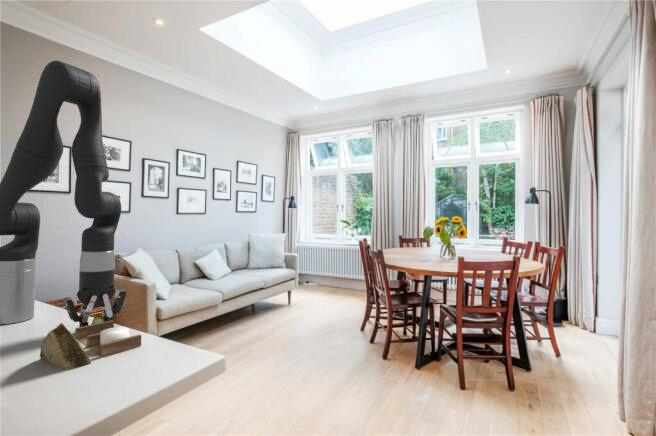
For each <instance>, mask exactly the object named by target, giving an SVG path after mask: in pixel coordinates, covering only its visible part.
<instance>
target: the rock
mask: <svg viewBox="0 0 656 436" xmlns="http://www.w3.org/2000/svg"><path fill="white" fill-rule="evenodd" d="M81 344H82V343H81V342H79V341H78V340H77V339H76V338H75V336H74V335H73V334H72V332H71V331H70V330H69V329H68V328H67V327H66V325H65V324H64V323H63V322H60V323H59V324H58V325H57V326H56V327H54V328H53V329H52V330H50V331H49V332H48V333H47V335H46V336H44V338H43V340H42V343H41V346H40V350H39V351H40V352H39V357H40V358H39V359H40V360H41V361H44V362H47V363H50V364H53V365H55V366H58V367H60V368H62V369H64V370H71V369H77V368H81V367H84V366H88V365H91V364H92V363H91V362H92V361H91V358H90V357H89V356H88V354H87V353H86V351H85V349H84V348H83V344H82V345H81Z"/></svg>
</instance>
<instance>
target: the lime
mask: <svg viewBox="0 0 656 436" xmlns="http://www.w3.org/2000/svg"><path fill="white" fill-rule="evenodd" d="M102 322H105V319H104V316H103V315H101V314H98V313H96V314H95V315H94V317H93V319H92V322H91V324H90V325H92V324H97V323H102Z"/></svg>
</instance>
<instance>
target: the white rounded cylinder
mask: <svg viewBox="0 0 656 436" xmlns="http://www.w3.org/2000/svg"><path fill="white" fill-rule="evenodd" d="M128 337H130V328H128V327H126V326H115V327H114V328H109V329H105V330H103V331H101V333H100V347H101V344H104V343H108V342H112V341H116V340H120V339H124V338H128Z"/></svg>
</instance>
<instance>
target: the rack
mask: <svg viewBox="0 0 656 436" xmlns="http://www.w3.org/2000/svg"><path fill="white" fill-rule="evenodd" d="M91 324H92V323H91ZM91 324H90V325H89V324H88V326H83V327H79V326H78V327H75V332H74V333H75V334H74V335H75V336H74V337H75V338H76V339H77V340H78V341H79V342H80V344H82V345H83V346H85V347H86V348H88V349H89V350H91V351H92V352H94V353H95V354H97V355H98V356H99V357H100V358H105V357H108V356H112V355H115V354H119V353H122V352H126V351H129V350H133V349H136V348H140V347H142V334H136V335H133V336H129V337H128V338H124V339H120V340H116V341H112V342H108V343H104V344H101V347H100V333H101V331H103V330H105V329H109V328H114V326H115V325H114V324H115V322H114V320H113V319H112V320H111V321H106V322H102V323H97V324H92V325H91Z"/></svg>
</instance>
